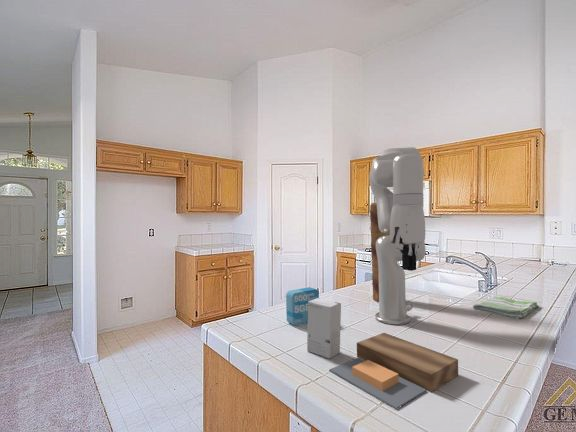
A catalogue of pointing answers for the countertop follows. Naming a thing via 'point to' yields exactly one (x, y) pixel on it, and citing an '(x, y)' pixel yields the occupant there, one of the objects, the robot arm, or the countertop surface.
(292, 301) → the data package
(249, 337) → the countertop surface
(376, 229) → the brown wooden post
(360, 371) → the tan foam pad
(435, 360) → the brown wooden block
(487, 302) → the dish towel
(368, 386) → the mat
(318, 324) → the skincare box
